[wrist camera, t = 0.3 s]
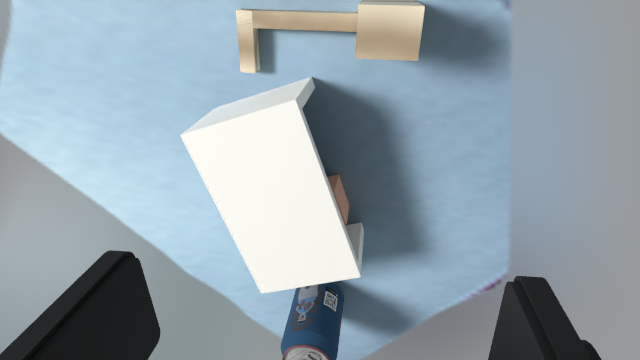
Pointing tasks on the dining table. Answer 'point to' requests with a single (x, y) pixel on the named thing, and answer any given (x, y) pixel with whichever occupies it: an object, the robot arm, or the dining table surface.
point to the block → (339, 196)
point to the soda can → (314, 323)
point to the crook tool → (341, 29)
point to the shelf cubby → (275, 190)
